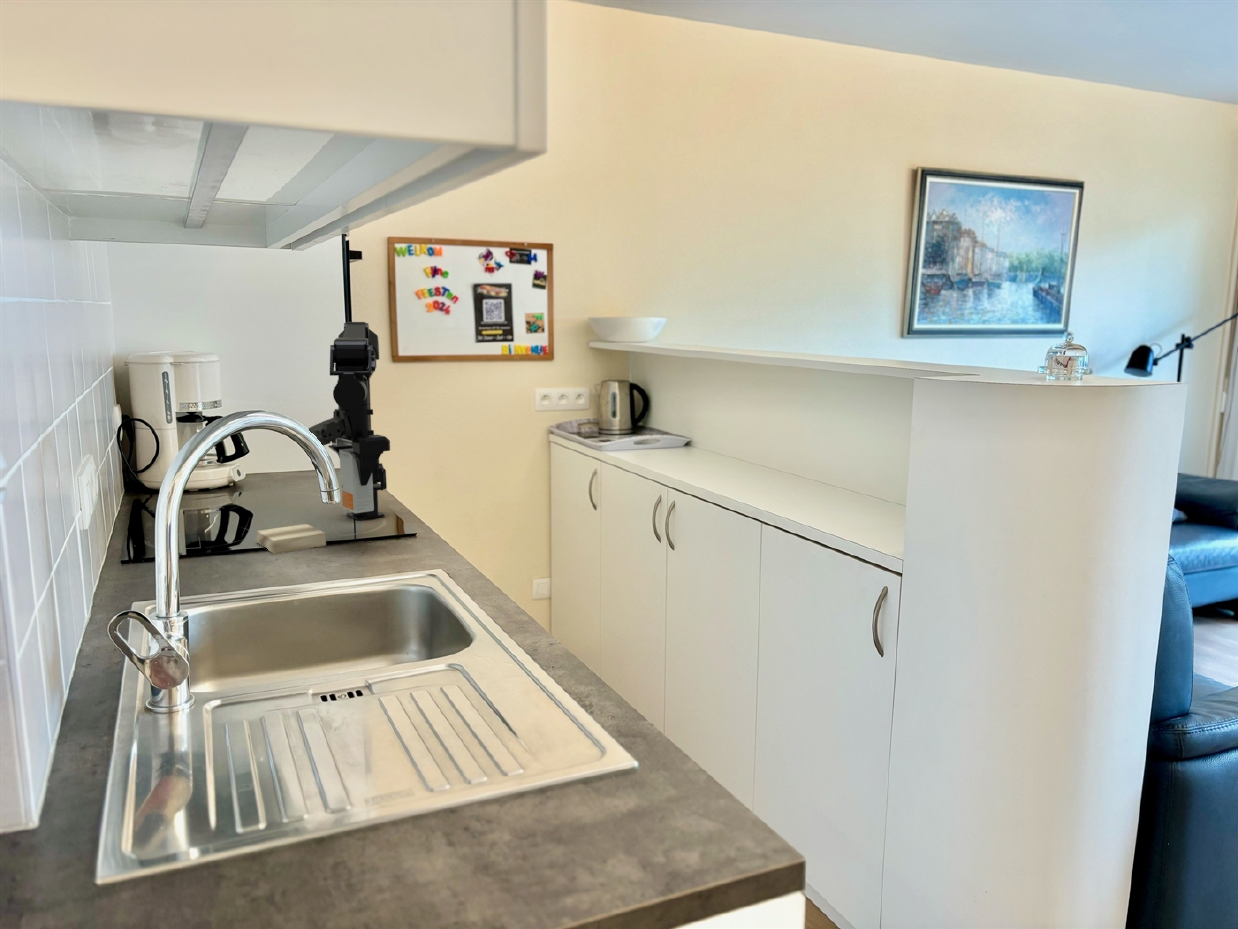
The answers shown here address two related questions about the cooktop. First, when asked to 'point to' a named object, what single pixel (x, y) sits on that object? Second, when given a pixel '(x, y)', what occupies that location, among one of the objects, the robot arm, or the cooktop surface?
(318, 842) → the cooktop surface
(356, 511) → the skincare box
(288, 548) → the beech block
